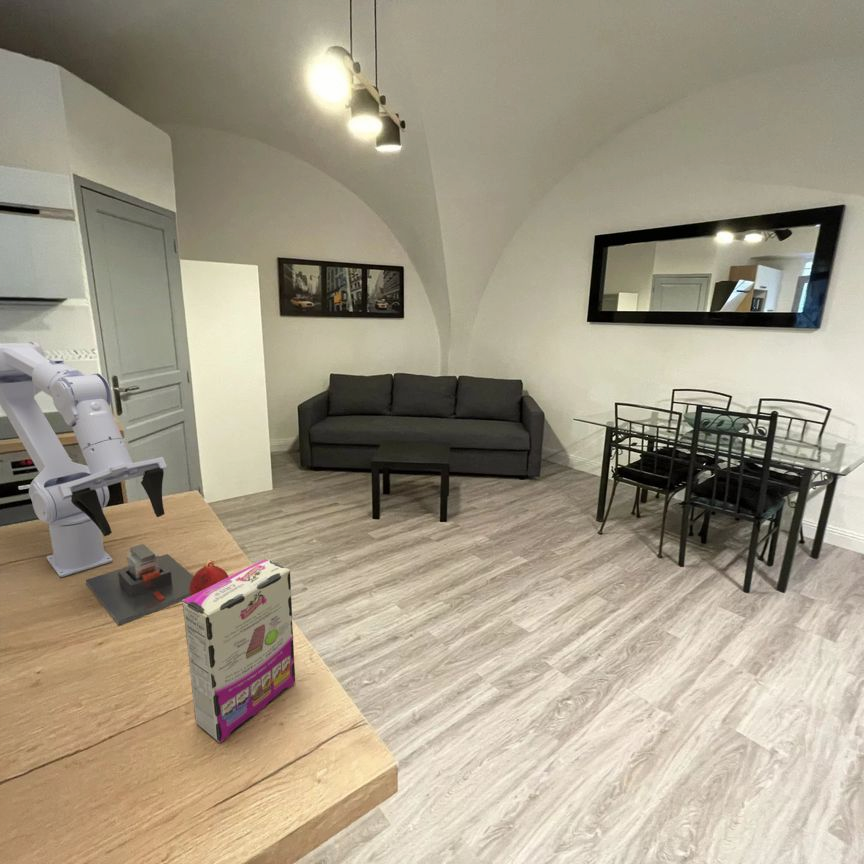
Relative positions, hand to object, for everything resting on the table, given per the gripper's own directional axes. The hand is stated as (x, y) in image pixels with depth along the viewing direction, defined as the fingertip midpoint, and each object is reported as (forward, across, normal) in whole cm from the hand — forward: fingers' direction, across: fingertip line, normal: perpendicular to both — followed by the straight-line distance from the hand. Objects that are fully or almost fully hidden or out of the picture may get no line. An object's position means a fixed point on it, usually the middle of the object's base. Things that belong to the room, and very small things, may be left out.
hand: (135, 524), depth 76 cm
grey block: (+10, 0, +8) cm, 13 cm away
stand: (+10, 0, +8) cm, 13 cm away
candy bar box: (+27, -2, -22) cm, 35 cm away
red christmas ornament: (+17, +5, -3) cm, 18 cm away
